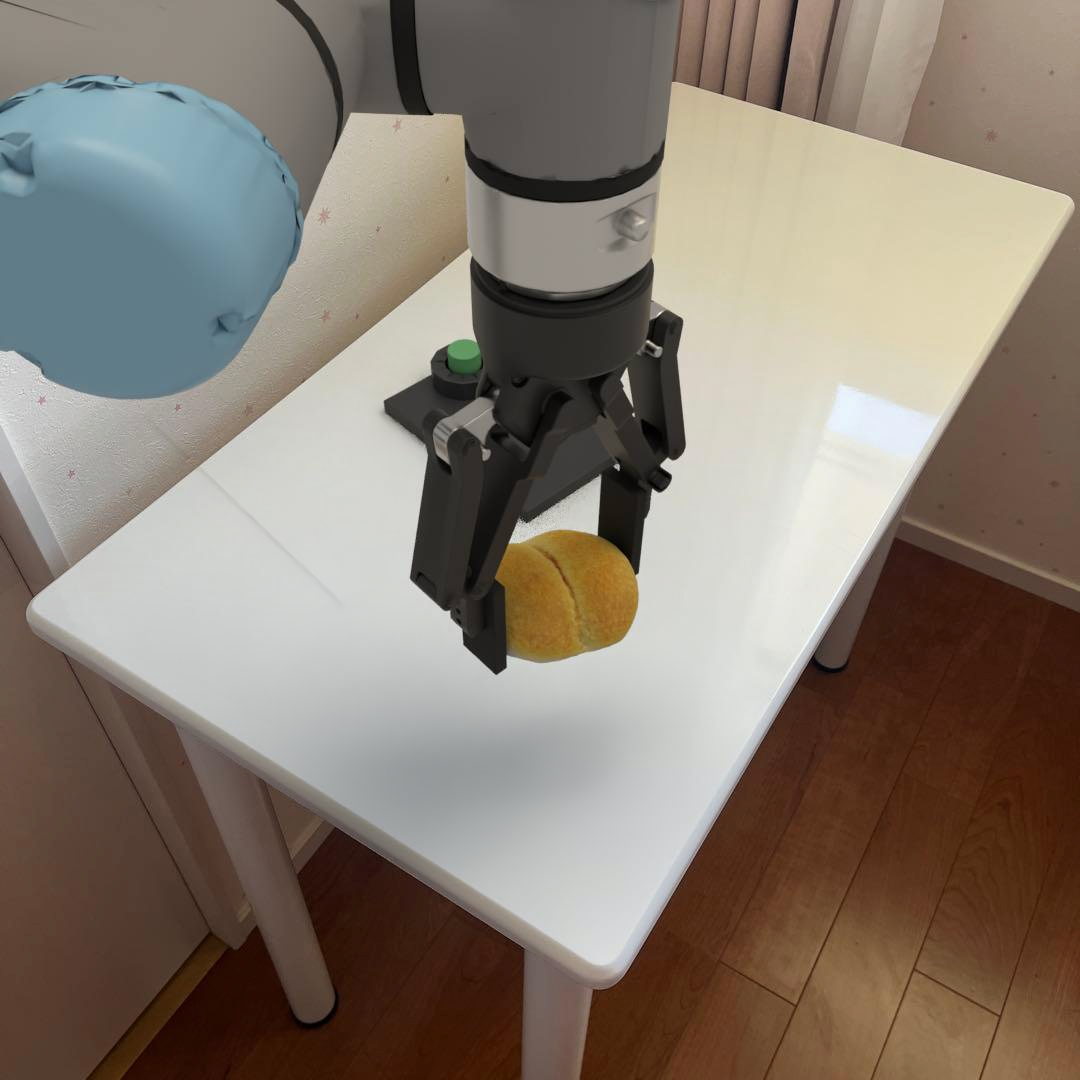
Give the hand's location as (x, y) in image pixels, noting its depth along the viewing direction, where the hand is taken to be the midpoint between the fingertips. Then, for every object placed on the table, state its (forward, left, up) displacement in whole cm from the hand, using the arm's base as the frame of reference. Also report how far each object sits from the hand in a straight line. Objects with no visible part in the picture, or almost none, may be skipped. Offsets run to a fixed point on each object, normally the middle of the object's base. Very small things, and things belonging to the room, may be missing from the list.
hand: (553, 608), depth 61 cm
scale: (-25, +19, -14) cm, 34 cm away
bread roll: (0, 0, 0) cm, 0 cm away
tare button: (-31, +19, -11) cm, 38 cm away
